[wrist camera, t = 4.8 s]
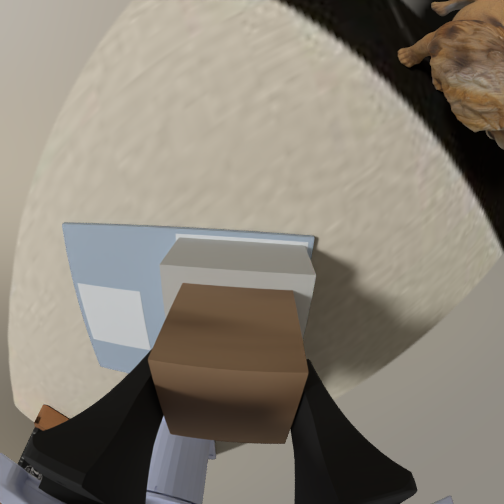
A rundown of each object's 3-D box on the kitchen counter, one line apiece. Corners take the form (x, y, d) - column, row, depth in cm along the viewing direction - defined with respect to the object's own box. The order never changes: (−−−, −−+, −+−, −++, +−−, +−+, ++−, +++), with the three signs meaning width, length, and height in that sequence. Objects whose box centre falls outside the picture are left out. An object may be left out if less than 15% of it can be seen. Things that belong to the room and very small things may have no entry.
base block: (288, 341, 18) (293, 379, 15) (185, 334, 18) (173, 370, 15) (304, 245, 15) (316, 274, 12) (179, 237, 15) (159, 264, 12)
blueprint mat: (284, 387, 20) (284, 390, 20) (101, 364, 20) (100, 366, 20) (313, 235, 15) (314, 237, 15) (64, 222, 15) (61, 224, 15)
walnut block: (279, 366, 14) (284, 443, 10) (189, 359, 14) (170, 433, 10) (292, 290, 12) (308, 372, 8) (182, 282, 12) (147, 359, 8)
